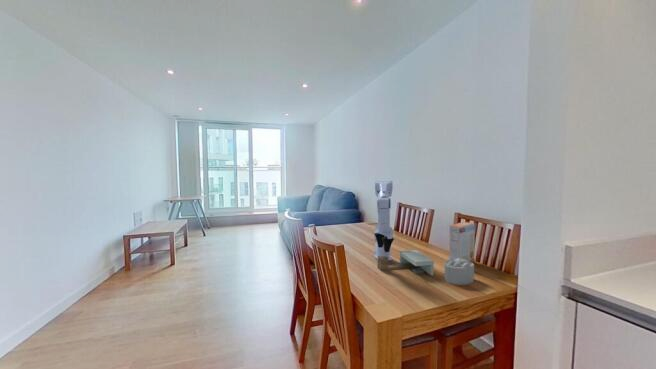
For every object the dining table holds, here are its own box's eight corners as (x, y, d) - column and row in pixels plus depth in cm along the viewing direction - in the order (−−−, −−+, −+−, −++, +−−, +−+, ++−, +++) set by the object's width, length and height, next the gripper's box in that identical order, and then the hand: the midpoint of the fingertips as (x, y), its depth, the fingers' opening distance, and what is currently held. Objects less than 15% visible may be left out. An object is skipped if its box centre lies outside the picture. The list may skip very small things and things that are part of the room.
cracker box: (463, 259, 141) (464, 221, 140) (474, 262, 136) (475, 223, 135) (448, 264, 134) (449, 224, 133) (459, 268, 129) (460, 226, 128)
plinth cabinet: (399, 264, 135) (400, 251, 134) (416, 263, 136) (416, 250, 136) (415, 276, 119) (415, 261, 118) (433, 275, 120) (433, 260, 120)
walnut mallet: (377, 267, 130) (377, 255, 130) (413, 264, 134) (413, 253, 133) (380, 270, 127) (380, 258, 126) (417, 267, 130) (417, 256, 130)
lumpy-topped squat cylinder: (477, 280, 115) (477, 261, 115) (460, 287, 108) (461, 267, 107) (454, 272, 124) (455, 254, 123) (438, 278, 117) (438, 260, 116)
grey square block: (412, 271, 126) (412, 268, 126) (419, 271, 127) (419, 267, 127) (416, 274, 122) (416, 271, 122) (423, 274, 123) (424, 270, 123)
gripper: (370, 219, 133) (370, 245, 134) (382, 225, 119) (382, 254, 120) (383, 219, 135) (383, 244, 136) (396, 225, 121) (396, 253, 121)
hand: (383, 249), depth 128 cm, fingers open, 7 cm apart
